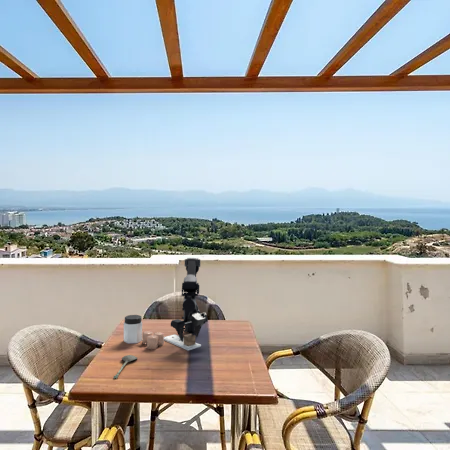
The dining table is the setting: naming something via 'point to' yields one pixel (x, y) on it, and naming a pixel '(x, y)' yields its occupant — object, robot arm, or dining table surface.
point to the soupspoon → (126, 359)
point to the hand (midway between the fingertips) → (189, 338)
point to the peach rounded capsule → (160, 338)
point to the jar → (132, 329)
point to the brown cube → (189, 339)
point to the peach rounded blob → (152, 342)
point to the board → (180, 342)
